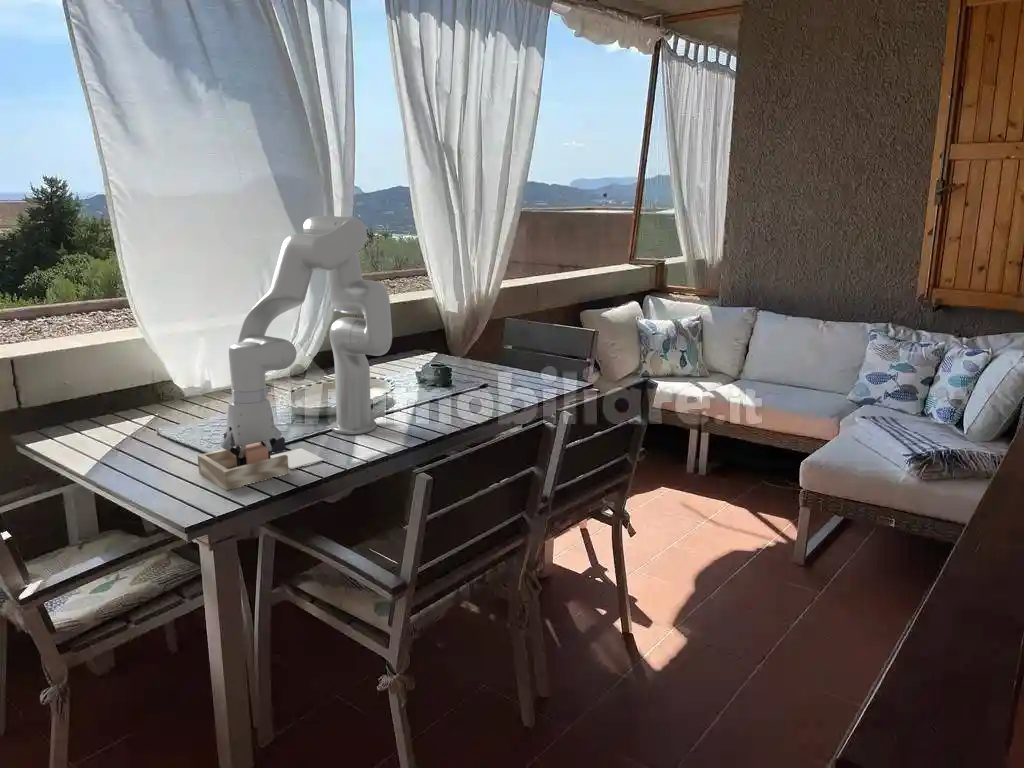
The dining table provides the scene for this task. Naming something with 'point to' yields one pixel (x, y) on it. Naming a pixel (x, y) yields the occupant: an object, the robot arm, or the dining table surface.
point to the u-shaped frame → (238, 469)
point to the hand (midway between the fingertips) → (254, 468)
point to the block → (255, 453)
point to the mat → (299, 458)
